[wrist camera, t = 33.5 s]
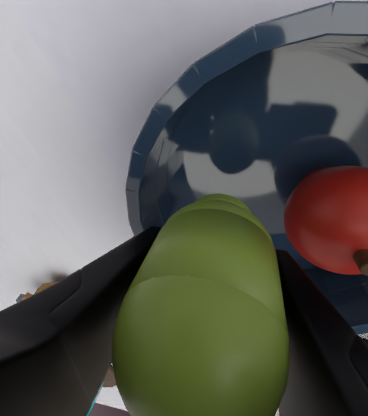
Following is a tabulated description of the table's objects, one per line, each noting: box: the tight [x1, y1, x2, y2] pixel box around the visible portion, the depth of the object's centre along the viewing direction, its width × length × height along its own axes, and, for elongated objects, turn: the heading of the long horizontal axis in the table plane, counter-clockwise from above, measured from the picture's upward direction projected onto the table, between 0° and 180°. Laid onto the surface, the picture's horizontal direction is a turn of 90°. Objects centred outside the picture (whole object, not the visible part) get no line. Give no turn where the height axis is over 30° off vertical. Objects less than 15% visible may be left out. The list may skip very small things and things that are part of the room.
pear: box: [112, 194, 290, 416], centre depth 7 cm, size 4×4×8 cm
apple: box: [284, 166, 368, 276], centre depth 10 cm, size 5×5×6 cm
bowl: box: [126, 1, 368, 335], centre depth 12 cm, size 15×15×5 cm
